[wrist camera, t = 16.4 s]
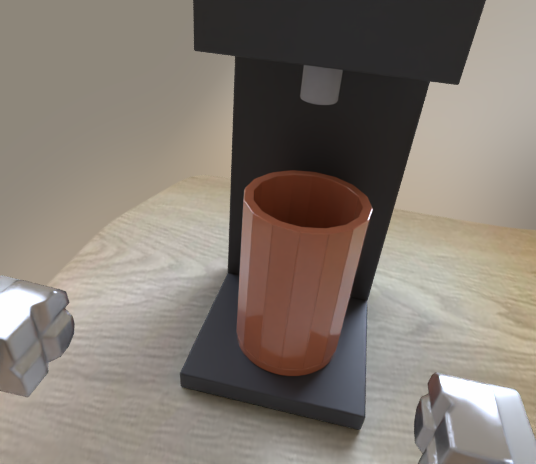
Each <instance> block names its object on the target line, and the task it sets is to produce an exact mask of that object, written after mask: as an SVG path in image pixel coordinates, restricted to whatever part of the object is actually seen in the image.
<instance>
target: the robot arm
mask: <svg viewBox="0 0 536 464" xmlns="http://www.w3.org/2000/svg"><path fill="white" fill-rule="evenodd" d="M68 304H69V300H68V297H67V293H66V291H63V290H60V289H56V288H52V287H48V286H44V285H40V284H36V283H32V282H28V281H24V280H19V279H15V278H11V277H6V276H3V275H2V276H0V391H2V392H7V393H11V394H16V395H20V396H24V397H29V396H30V395H31V393H32V392H33V391H34V390H35V388H36V387H37V386H38V385H39V383H40V382H41V381H42V380H43V378H44V377H45V376H46V375H47V373H48V363H49V362H51V361H53V360H55V359H57V358H59V357H61V356H62V354H63V353H64V352H65V351H66V349H67V348H68V347H69V344H70V342H71V340H72V337H73V335H74V325H75V324H74V320H73V316H72V315H71V314H70V313H69V312H68V311H67V310H66V309H65V307H66V306H67V305H68ZM428 390H429V394H427V395H425V396H422V397H421V399H420V401H419V404H418V406H417V409H416V415H415V421H414V434H415V444H416V445H417V447H418V448H419V449H420V451H421V452H422V454H423V455H422V457H421V458H420V460H419V462H418V464H536V440H535V437H534V434H533V431H532V428H531V426H530V423H529V420H528V417H527V414H526V411H525V408H524V406H523V403H522V400H521V397H520V395H519V393H518V392H517V391H516V390H515V389H511V388H506V387H501V386H497V385H492V384H486V383H484V382H480V381H475V380H470V379H465V378H461V377H456V376H451V375H446V374H441V373H437V372H435V373H434V374H433V375H432V376H431V378H430V380H429V382H428Z"/></svg>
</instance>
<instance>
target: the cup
mask: <svg viewBox="0 0 536 464" xmlns="http://www.w3.org/2000/svg"><path fill="white" fill-rule="evenodd" d="M372 211H373V208H372V206H371V203H370V201H369V199H368V197H367V196H366V195H365V194H364V193H363V192H362V191H360V190H359V189H358V188H357V187H355V186H354V185H352V184H350V183H348V182H346V181H343V180H341V179H339V178H337V177H334V176H329V175H325V174H321V173H317V172H310V171H295V170H292V171H291V170H289V171H280V172H272V173H268V174H266V175H263V176H260V177H258V178H255V179H254V180H253V181H252V182H251V183H250V184H249V185H247V186H246V187H245V189H244V200H243V218H242V237H241V255H240V274H239V292H238V311H237V329H236V331H237V340H238V343H239V346H240V348H241V350H242V352H243V353H244V354H245V356H246V357H247V358H248V359H249V360H250V361H251V362H253V363H254V364H255V365H257V366H258V367H260V368H262V369H264V370H266V371H268V372H271V373H274V374H278V375H283V376H302V375H307V374H311V373H313V372H316V371H318V370H320V369H322V368H323V367H324V366H326V365H327V364H328V363H329V362H330V361H331V360H332V358H333V357H334V355H335V353H336V351H337V347H338V343H339V340H340V337H341V333H342V329H343V325H344V322H345V318H346V314H347V310H348V306H349V302H350V298H351V294H352V290H353V286H354V282H355V278H356V274H357V270H358V266H359V262H360V259H361V255H362V251H363V247H364V243H365V239H366V235H367V231H368V227H369V223H370V219H371V215H372Z"/></svg>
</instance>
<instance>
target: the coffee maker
mask: <svg viewBox="0 0 536 464" xmlns="http://www.w3.org/2000/svg"><path fill="white" fill-rule="evenodd" d="M485 1H486V0H193V3H194V4H193V5H194V7H193V8H194V9H193V10H194V50H195V51H200V52H207V53H215V54H223V55H231V56H235V76H234V107H233V135H232V136H233V137H232V165H231V166H232V167H231V194H230V223H229V253H228V274H227V276H226V278H225V280H224V282H223V284H222V286H221V288H220V290H219V292H218V295H217V297H216V299H215V301H214V303H213V305H212V307H211V309H210V311H209V313H208V316H207V318H206V320H205V322H204V324H203V326H202V328H201V330H200V332H199V334H198V337H197V339H196V341H195V343H194V345H193V347H192V349H191V351H190V353H189V355H188V358H187V360H186V362H185V364H184V366H183V368H182V370H181V372H180V380H181V386H182V387H185V388H189V389H193V390H197V391H201V392H205V393H210V394H214V395H218V396H222V397H226V398H230V399H234V400H238V401H243V402H247V403H251V404H255V405H259V406H263V407H267V408H271V409H275V410H280V411H284V412H288V413H292V414H296V415H300V416H304V417H308V418H313V419H317V420H321V421H325V422H329V423H333V424H337V425H341V426H346V427H350V428H354V429H358V430H360V429H361V427H362V424H363V422H364V419H365V396H366V343H367V300H368V297H369V293H370V290H371V286H372V283H373V279H374V276H375V272H376V269H377V265H378V262H379V258H380V255H381V251H382V248H383V244H384V241H385V237H386V234H387V230H388V227H389V223H390V220H391V216H392V213H393V209H394V205H395V202H396V198H397V195H398V191H399V188H400V185H401V181H402V178H403V174H404V171H405V167H406V164H407V160H408V156H409V153H410V150H411V146H412V142H413V139H414V136H415V132H416V128H417V125H418V122H419V118H420V114H421V111H422V107H423V104H424V101H425V97H426V93H427V90H428V86H429V83H430V81H431V82H439V83H446V84H454V85H458V84H459V82H460V79H461V76H462V72H463V69H464V66H465V63H466V60H467V57H468V54H469V51H470V47H471V45H472V41H473V38H474V35H475V32H476V29H477V26H478V23H479V20H480V16H481V14H482V11H483V8H484V4H485ZM289 170H291V171H292V170H295V171H310V172H317V173H321V174H325V175H329V176H334V177H337V178H339V179H341V180H343V181H346V182H348V183H350V184H352V185H354V186H355V187H357V188H358V189H359V190H360V191H362V192H363V193H364V194H365V195H366V196H367V197H368V199H369V201H370V203H371V206H372V208H373V211H372V215H371V219H370V223H369V227H368V231H367V235H366V239H365V243H364V247H363V251H362V255H361V259H360V262H359V266H358V270H357V274H356V278H355V282H354V286H353V290H352V294H351V298H350V302H349V306H348V310H347V314H346V318H345V322H344V325H343V329H342V333H341V337H340V340H339V343H338V347H337V351H336V353H335V355H334V357H333V358H332V360H331V361H330V362H329V363H328V364H327V365H326V366H324V367H323V368H322V369H320V370H318V371H316V372H313V373H311V374H307V375H302V376H283V375H278V374H274V373H271V372H268V371H266V370H264V369H262V368H260V367H258V366H257V365H255V364H254V363H253V362H251V361H250V360H249V359H248V358H247V357H246V356H245V354H244V353H243V352H242V350H241V348H240V346H239V343H238V340H237V331H236V329H237V311H238V292H239V274H240V255H241V237H242V218H243V200H244V189H245V187H246V186H247V185H249V184H250V183H251V182H252V181H253V180H254V179H255V178H258V177H260V176H263V175H266V174H268V173H272V172H280V171H289Z"/></svg>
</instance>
